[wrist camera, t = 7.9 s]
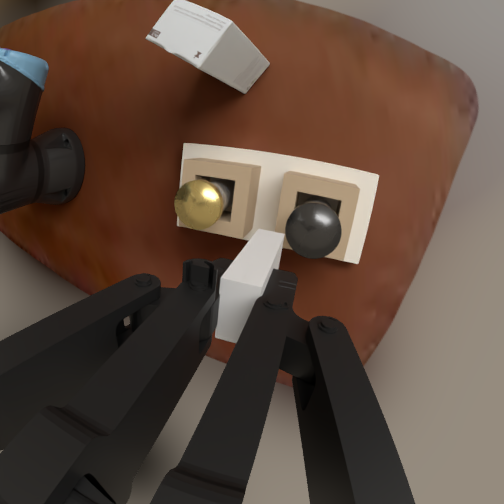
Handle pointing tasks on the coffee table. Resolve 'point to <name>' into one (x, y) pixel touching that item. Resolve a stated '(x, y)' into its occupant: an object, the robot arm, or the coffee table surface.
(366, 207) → the socket board
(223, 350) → the coffee table surface
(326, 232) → the plug black
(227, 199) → the plug brass
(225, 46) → the skincare box
